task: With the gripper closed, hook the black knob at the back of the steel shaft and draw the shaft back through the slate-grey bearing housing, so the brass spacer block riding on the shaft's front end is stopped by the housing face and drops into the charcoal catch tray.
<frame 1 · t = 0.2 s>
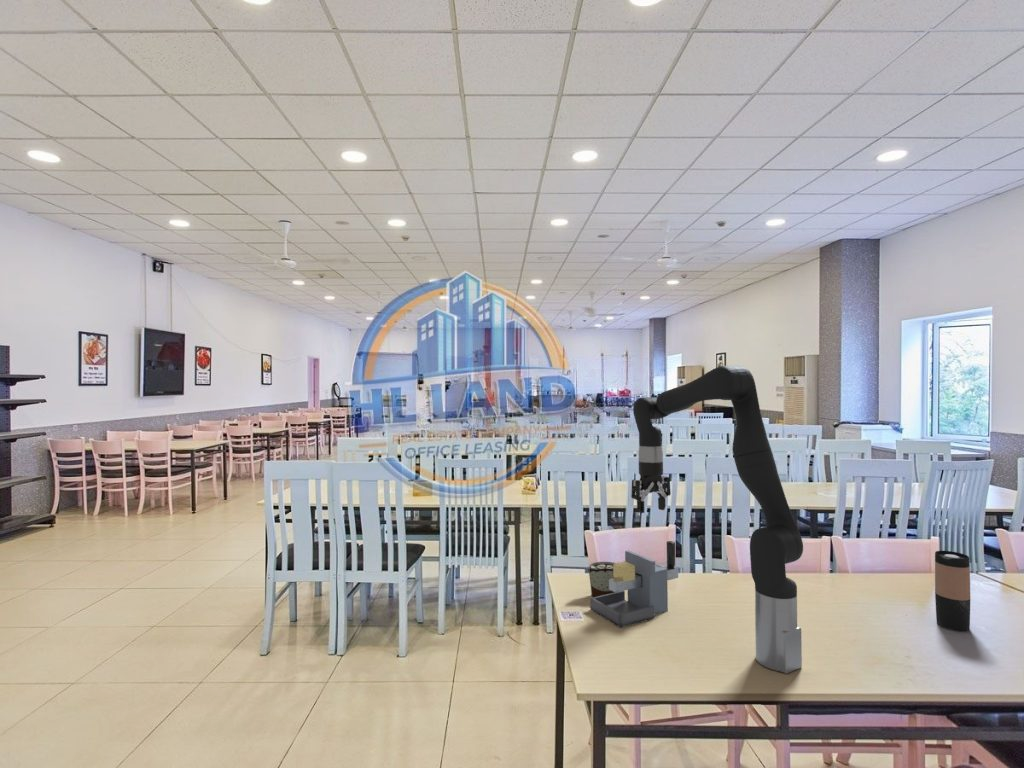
hand: (651, 511, 168), 28 cm above the table, tool pointing down, fingers open, 8 cm apart
housing: (647, 607, 162), on the table
spacer: (624, 578, 158), point 10 cm above the table, touching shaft
travel mug: (952, 626, 148), on the table
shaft: (644, 565, 162), point 13 cm above the table, slide at 0.0 cm, touching spacer
catch tray: (621, 613, 157), on the table
food container: (605, 595, 172), on the table
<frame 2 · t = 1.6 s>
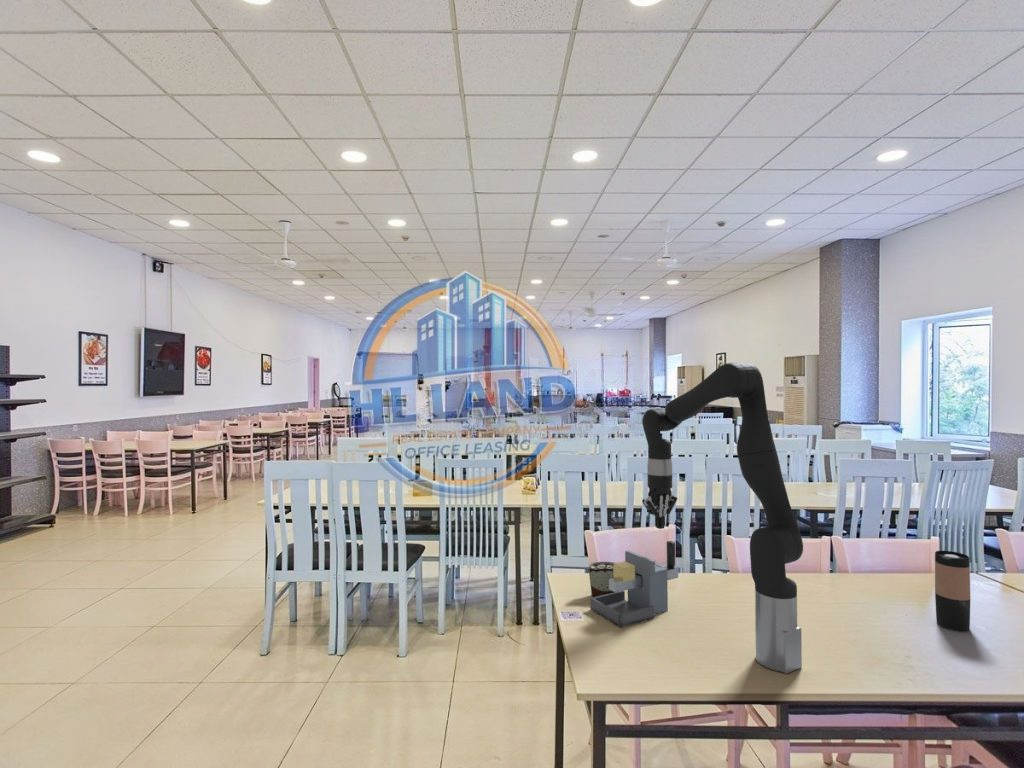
hand: (660, 528, 165), 24 cm above the table, tool pointing down, fingers closed
nothing on the table moved.
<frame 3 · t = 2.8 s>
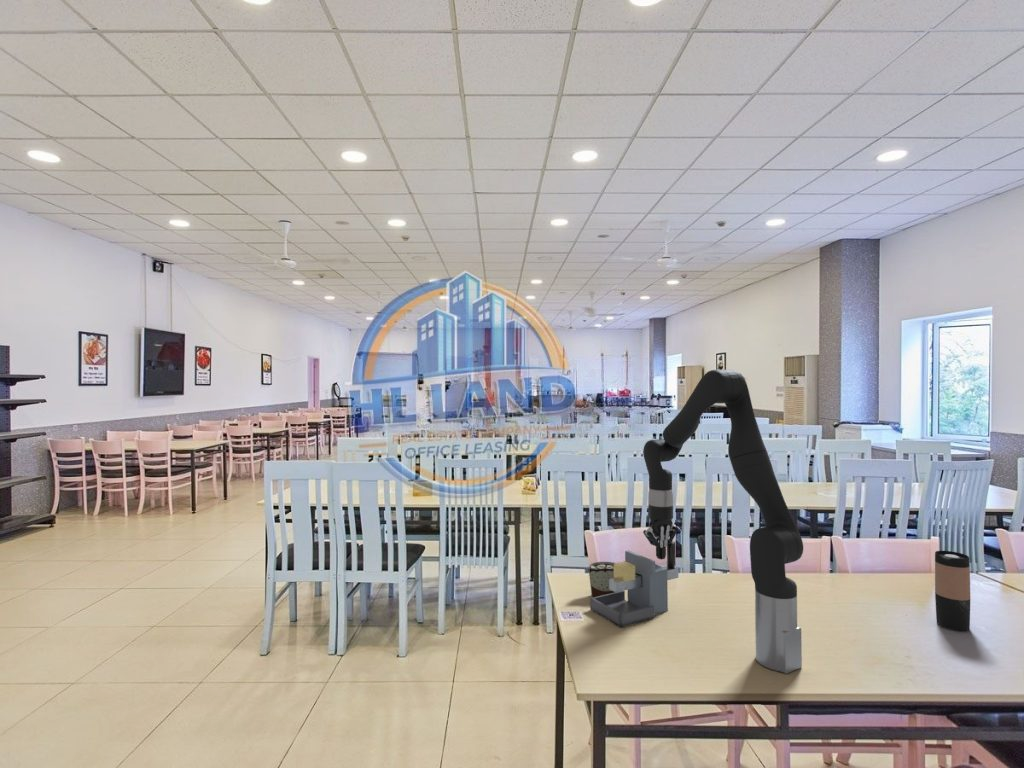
hand: (661, 558, 165), 14 cm above the table, tool pointing down, fingers closed
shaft: (644, 565, 162), point 13 cm above the table, slide at 0.1 cm, touching gripper, spacer
everything else where it was.
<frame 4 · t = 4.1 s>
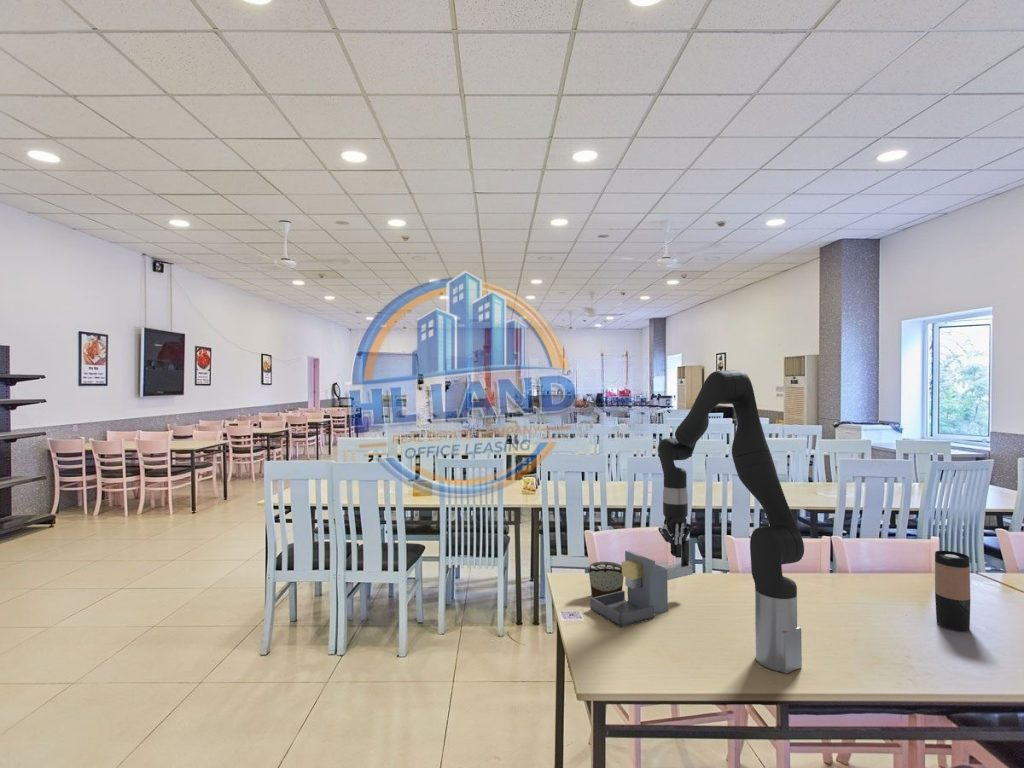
hand: (675, 555, 168), 14 cm above the table, tool pointing down, fingers closed
spacer: (632, 576, 160), point 11 cm above the table, touching housing
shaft: (659, 562, 165), point 13 cm above the table, slide at 6.2 cm, touching gripper
everything else where it was.
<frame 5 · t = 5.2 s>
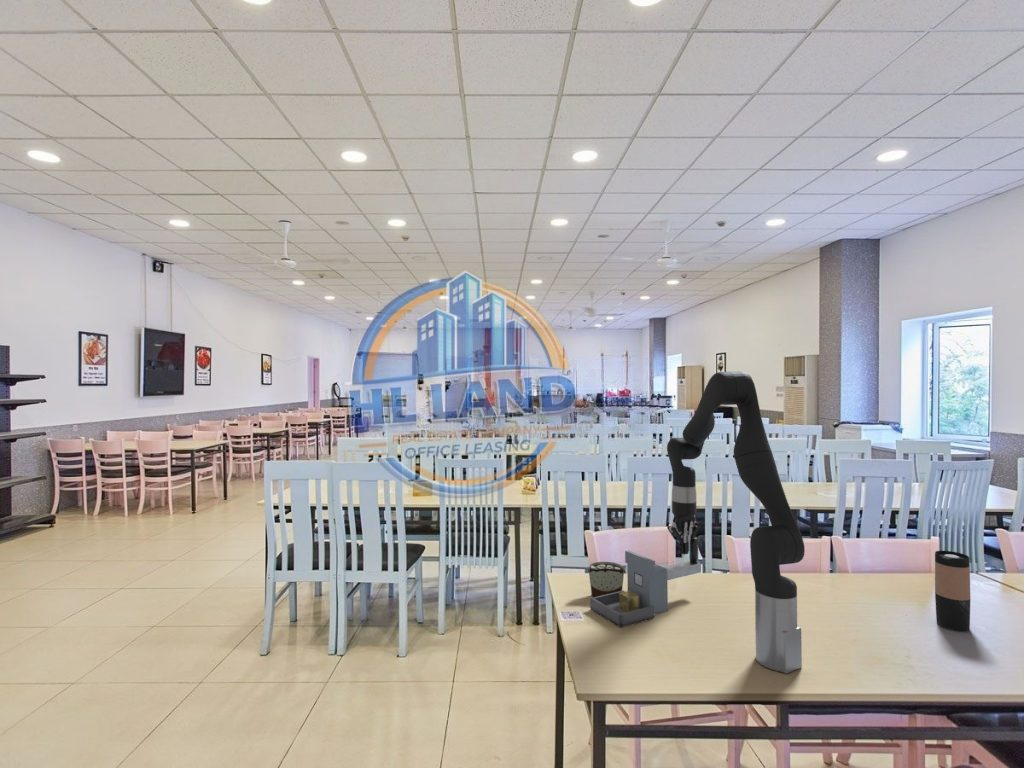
hand: (684, 553, 170), 14 cm above the table, tool pointing down, fingers closed
spacer: (634, 600, 160), point 3 cm above the table, tilted 90°, touching catch tray
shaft: (668, 560, 166), point 13 cm above the table, slide at 10.1 cm, touching gripper
everything else where it was.
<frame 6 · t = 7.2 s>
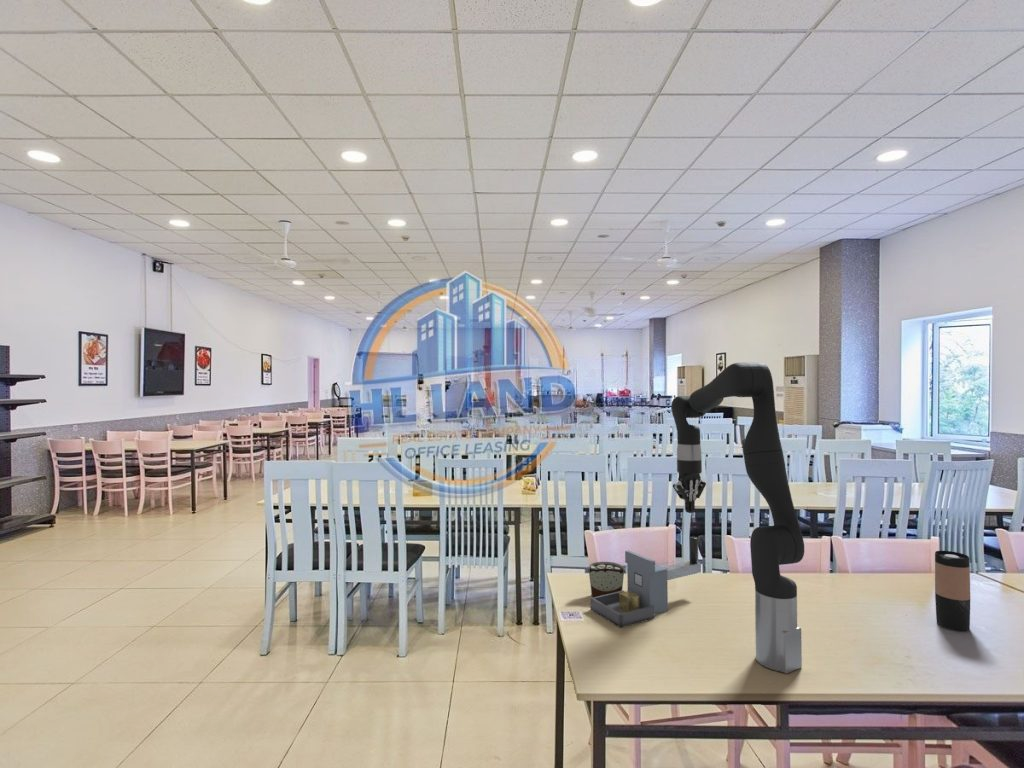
hand: (690, 512, 169), 27 cm above the table, tool pointing down, fingers closed
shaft: (668, 560, 166), point 13 cm above the table, slide at 10.0 cm
everything else where it was.
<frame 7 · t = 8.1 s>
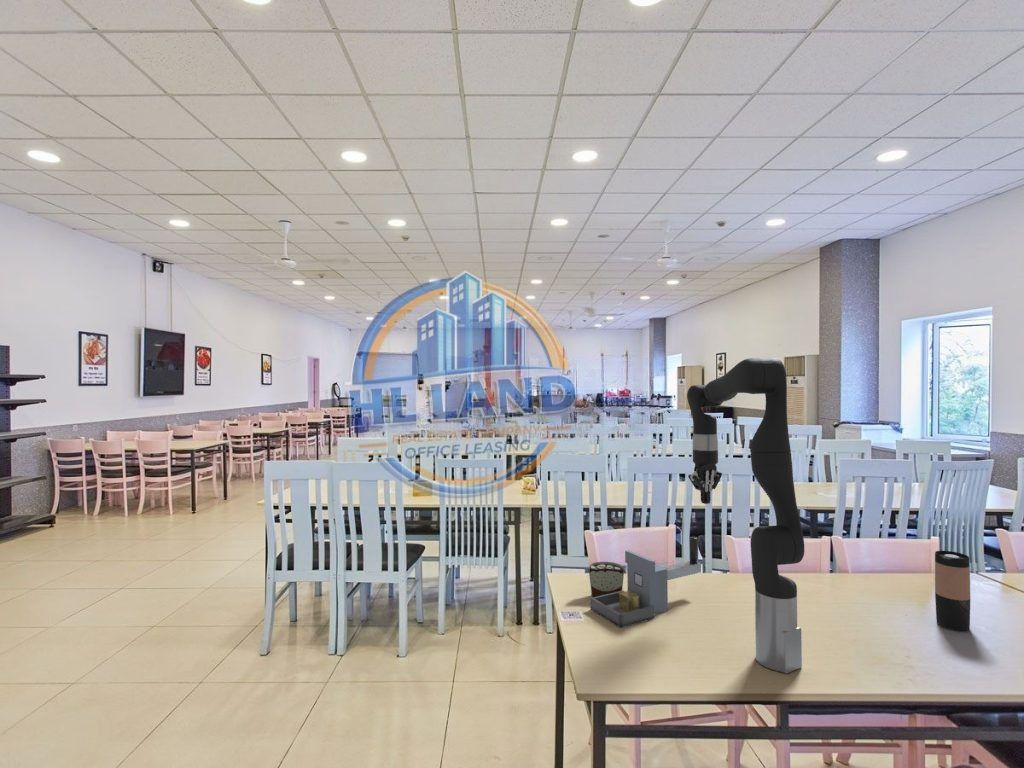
hand: (705, 503, 166), 31 cm above the table, tool pointing down, fingers closed
nothing on the table moved.
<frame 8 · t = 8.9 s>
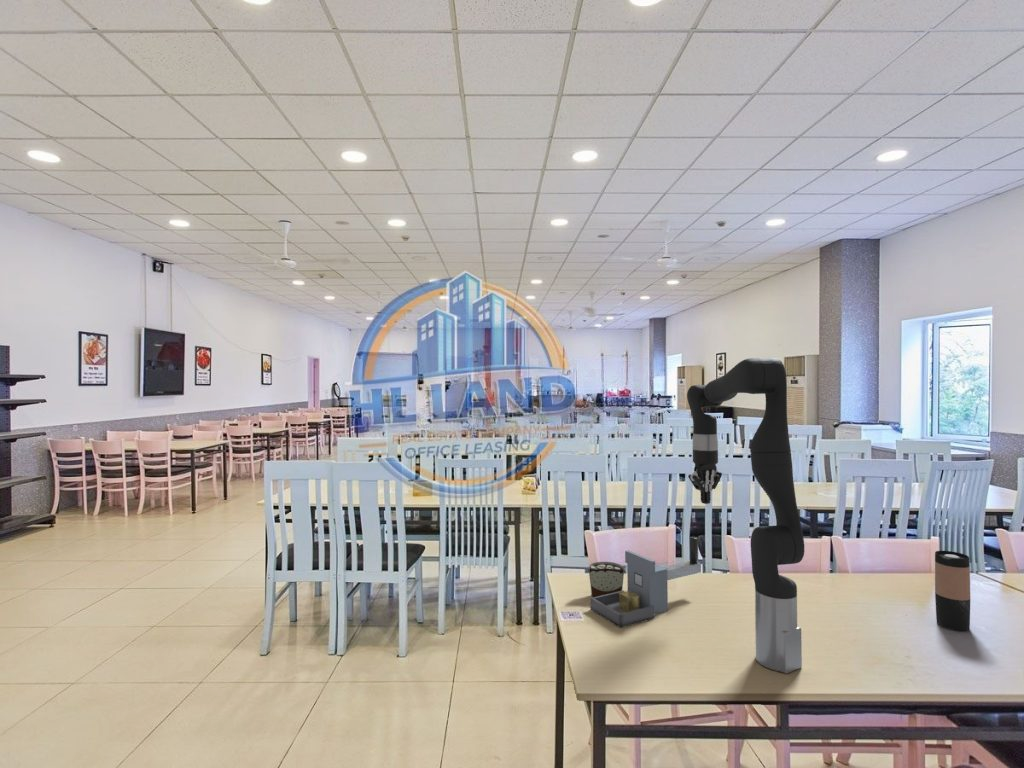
hand: (705, 503, 166), 31 cm above the table, tool pointing down, fingers closed
nothing on the table moved.
at the end: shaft slide at 10.0 cm; spacer inside the target area (4.9 cm from its centre), point 3.0 cm above the table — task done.
